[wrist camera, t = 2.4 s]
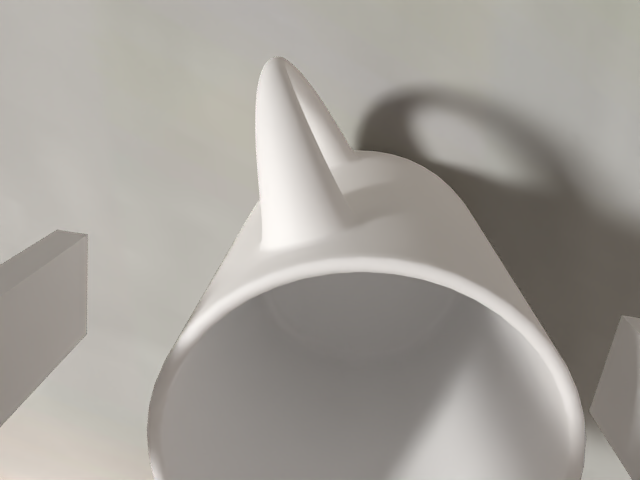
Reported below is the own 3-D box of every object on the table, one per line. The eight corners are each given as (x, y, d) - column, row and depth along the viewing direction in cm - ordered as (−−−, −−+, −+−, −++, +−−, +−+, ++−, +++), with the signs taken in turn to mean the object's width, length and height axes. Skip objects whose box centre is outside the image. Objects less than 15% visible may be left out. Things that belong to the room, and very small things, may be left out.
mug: (427, 9, 19) (513, -16, 8) (497, 335, 22) (614, 587, 12) (177, 85, 20) (-8, 143, 10) (282, 381, 23) (227, 645, 13)
